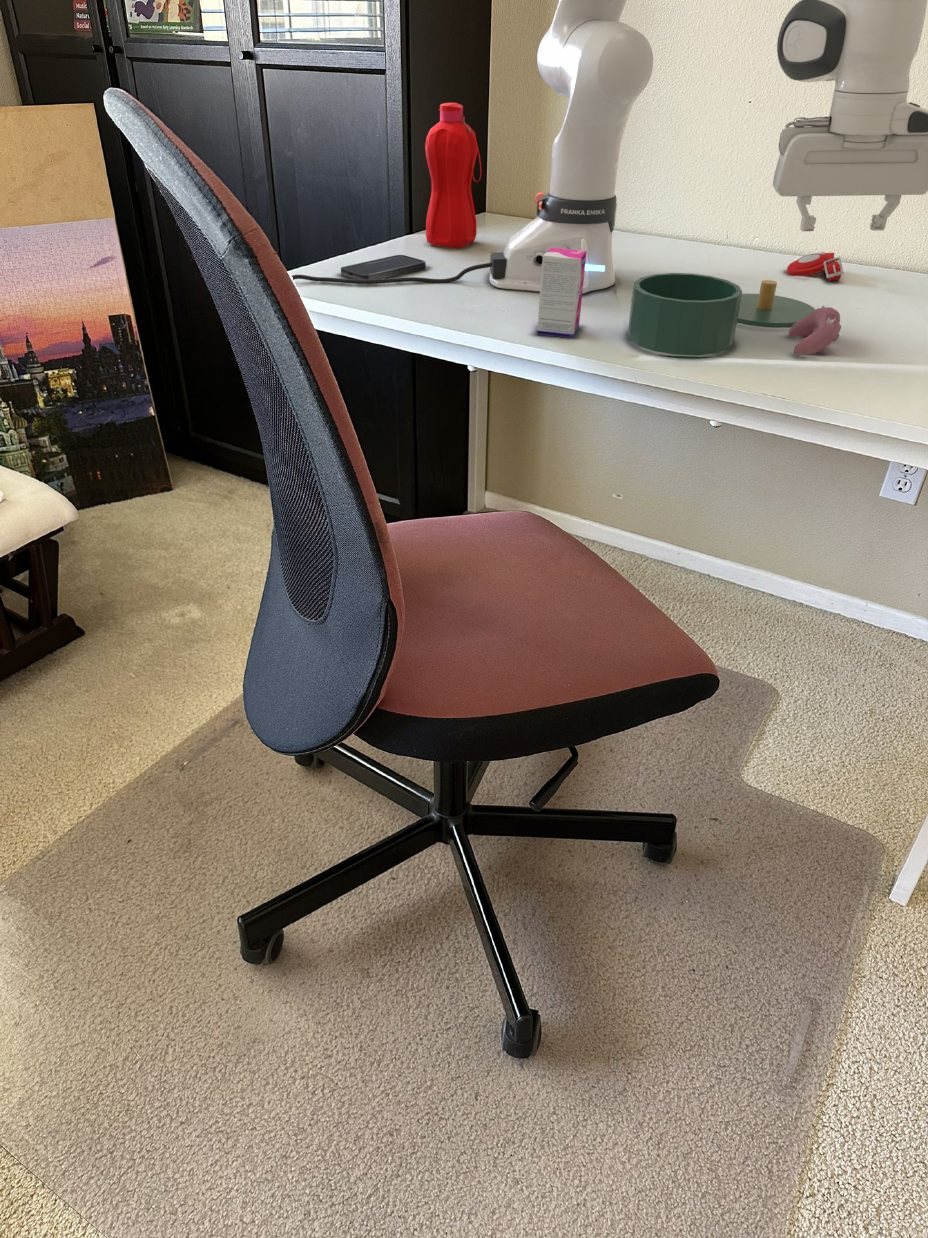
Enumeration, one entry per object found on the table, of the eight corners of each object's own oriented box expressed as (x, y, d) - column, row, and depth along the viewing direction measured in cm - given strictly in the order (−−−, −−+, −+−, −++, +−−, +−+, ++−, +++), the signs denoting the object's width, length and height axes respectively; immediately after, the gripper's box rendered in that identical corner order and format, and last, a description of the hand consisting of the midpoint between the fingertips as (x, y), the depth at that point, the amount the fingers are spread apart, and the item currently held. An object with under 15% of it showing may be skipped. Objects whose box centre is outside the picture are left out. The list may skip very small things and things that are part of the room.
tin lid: (719, 328, 140) (725, 294, 137) (705, 299, 153) (710, 267, 150) (826, 332, 138) (834, 298, 135) (802, 302, 152) (809, 270, 149)
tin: (631, 356, 129) (638, 299, 124) (625, 324, 141) (630, 271, 136) (739, 360, 128) (750, 303, 123) (723, 327, 140) (732, 274, 135)
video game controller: (817, 370, 129) (851, 328, 125) (791, 353, 129) (824, 311, 124) (809, 348, 137) (841, 307, 133) (785, 332, 136) (816, 291, 132)
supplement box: (574, 338, 135) (580, 258, 128) (535, 334, 136) (540, 255, 130) (580, 326, 140) (587, 249, 133) (543, 323, 141) (547, 246, 134)
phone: (428, 261, 167) (365, 275, 158) (428, 267, 167) (365, 282, 159) (400, 253, 171) (337, 267, 162) (400, 260, 172) (338, 273, 163)
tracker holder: (775, 267, 166) (805, 245, 170) (779, 290, 168) (808, 268, 172) (837, 264, 157) (867, 241, 161) (840, 289, 159) (869, 265, 163)
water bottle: (469, 252, 178) (471, 107, 163) (420, 245, 182) (418, 103, 167) (488, 242, 185) (492, 102, 170) (441, 236, 189) (440, 99, 174)
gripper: (788, 120, 114) (769, 236, 122) (955, 117, 113) (924, 234, 121) (777, 114, 119) (760, 225, 127) (937, 111, 118) (909, 223, 126)
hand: (841, 229), depth 124 cm, fingers open, 8 cm apart
